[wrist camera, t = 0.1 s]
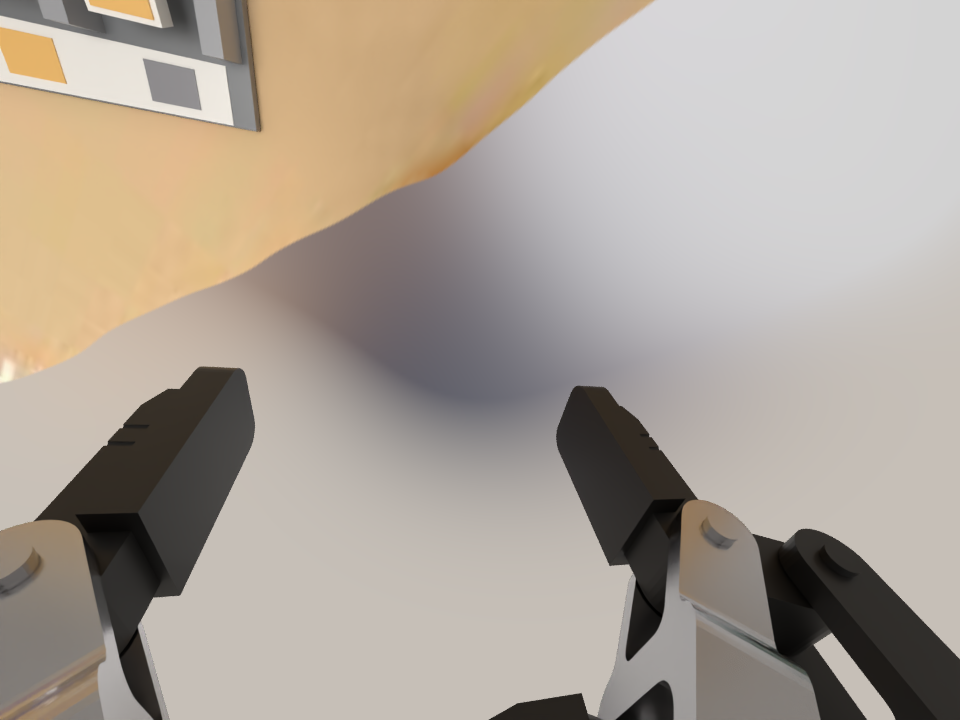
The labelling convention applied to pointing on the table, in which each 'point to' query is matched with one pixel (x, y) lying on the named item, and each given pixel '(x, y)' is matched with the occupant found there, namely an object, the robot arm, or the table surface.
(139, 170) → the table surface
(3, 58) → the switch unit
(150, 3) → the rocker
